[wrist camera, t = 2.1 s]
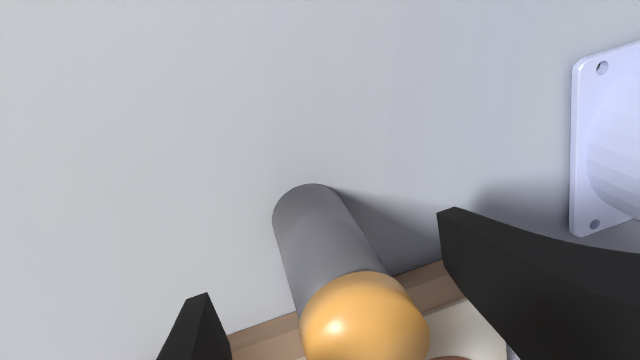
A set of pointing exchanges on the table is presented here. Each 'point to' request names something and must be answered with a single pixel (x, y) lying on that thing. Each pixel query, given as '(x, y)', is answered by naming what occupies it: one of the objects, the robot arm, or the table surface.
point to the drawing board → (430, 299)
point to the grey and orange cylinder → (342, 284)
